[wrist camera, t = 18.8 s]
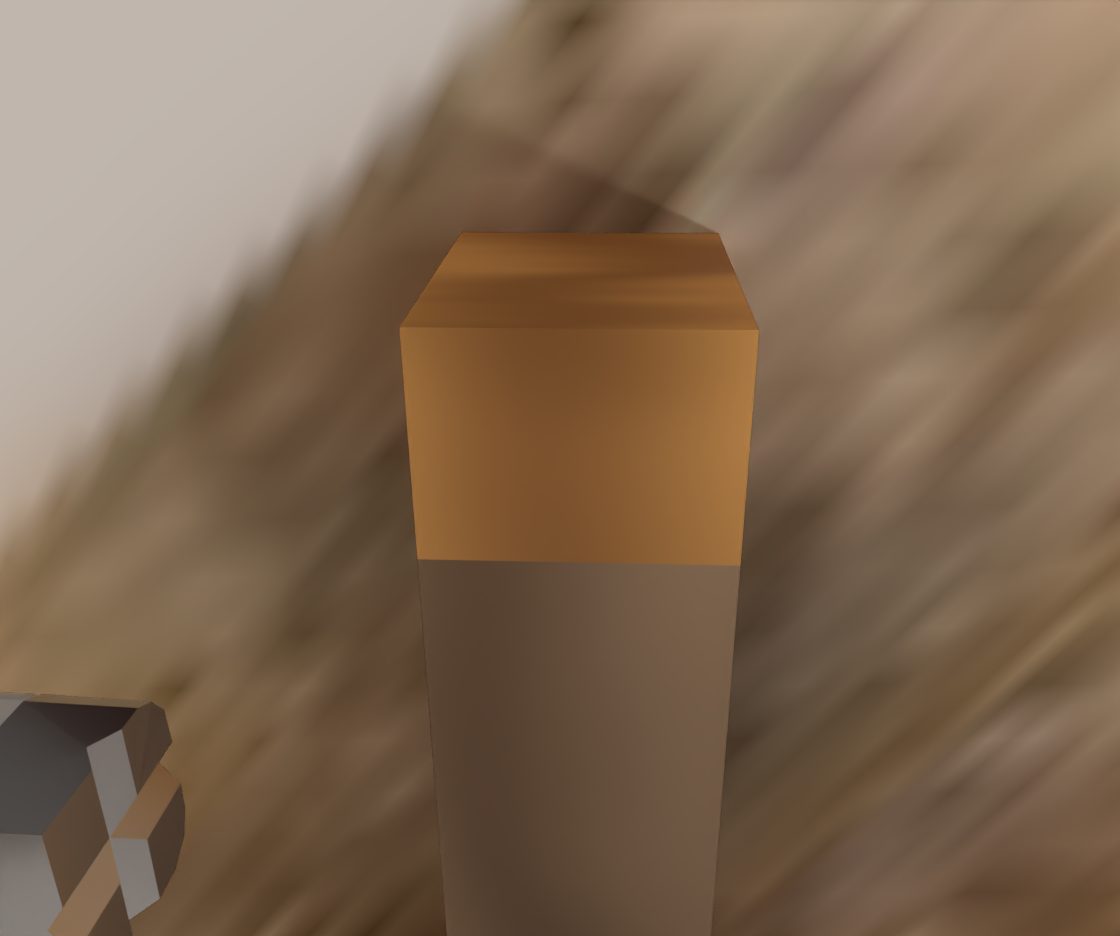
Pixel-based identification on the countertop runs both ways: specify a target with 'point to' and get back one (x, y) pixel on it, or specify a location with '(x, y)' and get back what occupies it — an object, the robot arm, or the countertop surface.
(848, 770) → the countertop surface
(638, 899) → the bar
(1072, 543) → the countertop surface
